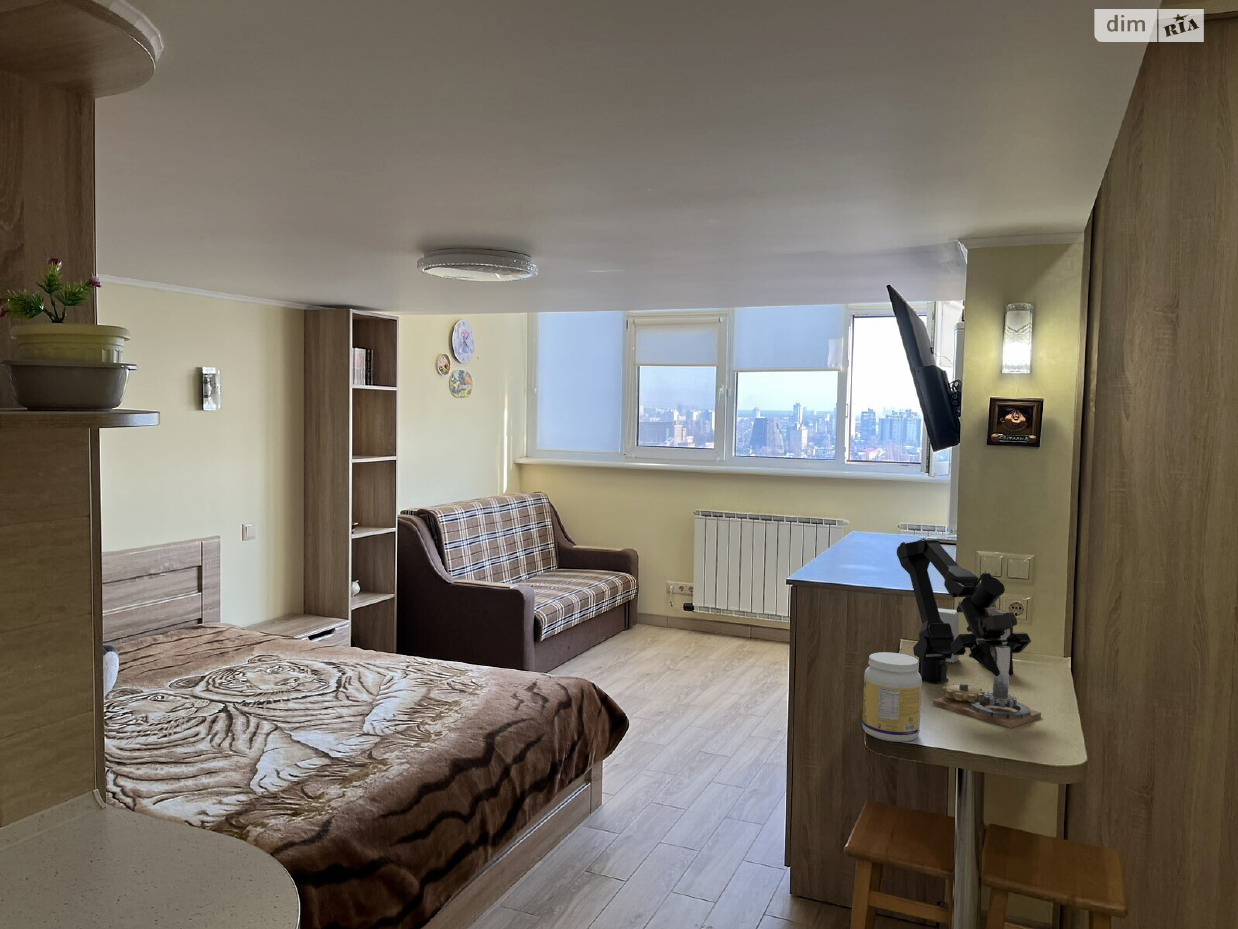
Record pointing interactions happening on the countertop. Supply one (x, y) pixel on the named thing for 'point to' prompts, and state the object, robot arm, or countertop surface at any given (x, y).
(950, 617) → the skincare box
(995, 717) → the gear board
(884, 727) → the supplement tub
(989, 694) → the gear
